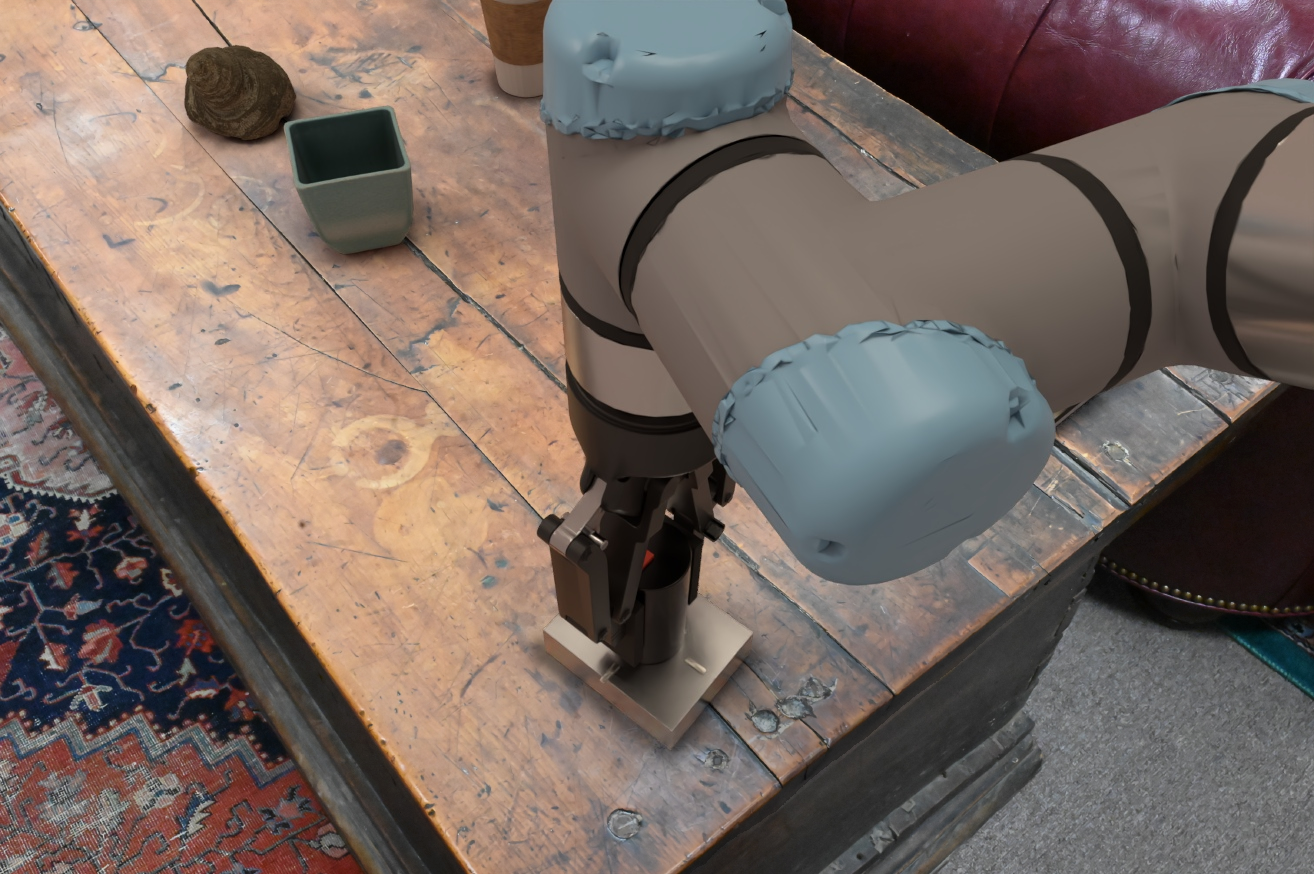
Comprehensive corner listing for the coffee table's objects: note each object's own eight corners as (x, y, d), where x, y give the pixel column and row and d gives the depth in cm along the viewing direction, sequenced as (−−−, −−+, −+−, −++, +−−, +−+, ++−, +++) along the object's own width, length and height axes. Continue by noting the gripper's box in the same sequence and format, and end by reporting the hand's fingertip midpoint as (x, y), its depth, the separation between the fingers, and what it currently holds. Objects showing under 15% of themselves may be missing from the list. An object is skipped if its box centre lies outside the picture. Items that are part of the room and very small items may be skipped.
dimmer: (643, 584, 63) (644, 502, 55) (699, 626, 61) (708, 546, 54) (596, 635, 61) (592, 555, 53) (653, 678, 59) (656, 603, 52)
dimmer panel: (752, 650, 64) (757, 627, 61) (667, 754, 60) (668, 734, 57) (630, 562, 67) (630, 537, 65) (542, 654, 63) (538, 631, 61)
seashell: (117, 75, 89) (186, 118, 85) (186, -40, 89) (258, -2, 85) (212, 134, 99) (278, 174, 96) (274, 31, 99) (342, 68, 95)
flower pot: (411, 190, 90) (392, 102, 83) (430, 255, 85) (411, 167, 78) (310, 209, 88) (282, 121, 81) (323, 276, 83) (294, 189, 76)
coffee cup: (491, 54, 103) (473, -97, 91) (574, 58, 103) (566, -93, 91) (479, 103, 98) (458, -50, 86) (566, 107, 98) (557, -46, 86)
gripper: (712, 206, 47) (689, 490, 65) (434, 438, 38) (499, 688, 57) (850, 280, 44) (784, 554, 63) (583, 546, 36) (599, 772, 54)
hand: (648, 617), depth 60 cm, fingers closed on dimmer, 4 cm apart
